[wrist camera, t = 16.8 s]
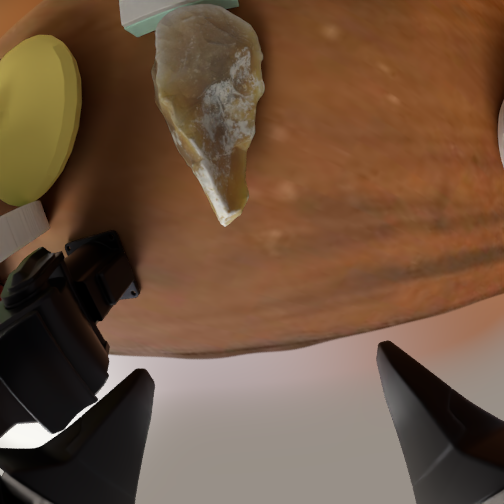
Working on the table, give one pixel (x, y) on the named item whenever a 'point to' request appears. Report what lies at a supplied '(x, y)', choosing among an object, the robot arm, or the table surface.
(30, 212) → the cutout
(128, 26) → the scale
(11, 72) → the vase
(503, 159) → the paper bowls
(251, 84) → the stone
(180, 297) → the table surface
